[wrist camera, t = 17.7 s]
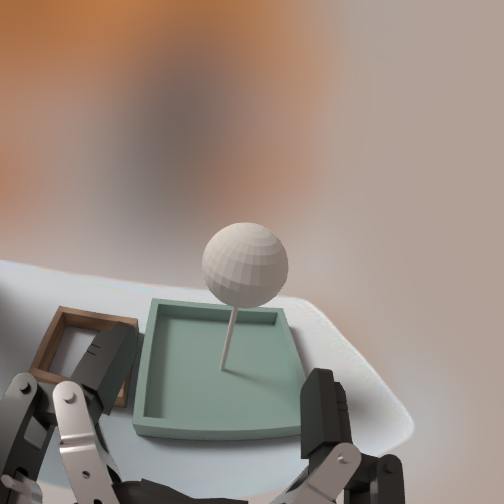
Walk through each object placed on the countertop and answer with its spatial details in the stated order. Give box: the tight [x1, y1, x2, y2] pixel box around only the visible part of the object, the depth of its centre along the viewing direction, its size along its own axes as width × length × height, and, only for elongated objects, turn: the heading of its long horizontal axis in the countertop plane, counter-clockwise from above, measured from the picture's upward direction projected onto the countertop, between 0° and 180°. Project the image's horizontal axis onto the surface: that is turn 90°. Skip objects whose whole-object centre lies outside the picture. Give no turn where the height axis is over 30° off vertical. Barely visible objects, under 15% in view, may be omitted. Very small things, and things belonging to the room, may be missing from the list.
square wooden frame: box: [29, 306, 139, 408], centre depth 21 cm, size 10×10×2 cm
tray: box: [132, 298, 307, 440], centre depth 24 cm, size 15×15×2 cm
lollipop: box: [202, 223, 288, 371], centre depth 21 cm, size 6×6×15 cm
